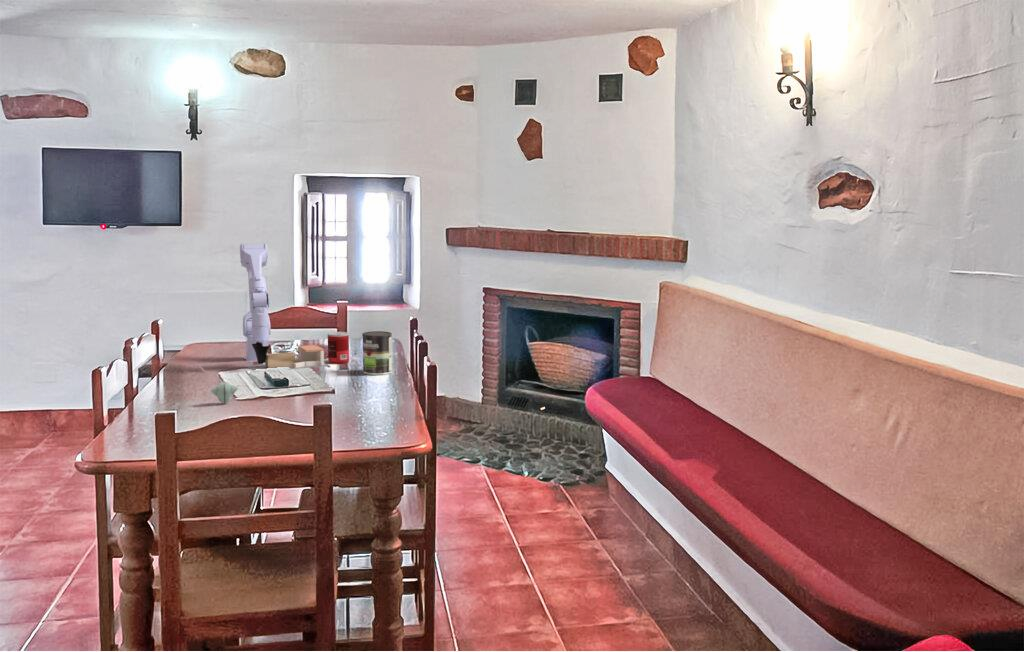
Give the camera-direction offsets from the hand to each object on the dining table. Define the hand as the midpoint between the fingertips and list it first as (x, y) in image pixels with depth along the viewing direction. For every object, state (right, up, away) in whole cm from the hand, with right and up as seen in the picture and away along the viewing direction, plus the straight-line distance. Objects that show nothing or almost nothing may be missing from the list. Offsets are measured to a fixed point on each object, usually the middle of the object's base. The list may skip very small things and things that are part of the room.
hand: (261, 363), depth 332 cm
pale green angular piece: (+3, -10, -52) cm, 53 cm away
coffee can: (+42, -3, -4) cm, 43 cm away
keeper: (+8, -2, +5) cm, 10 cm away
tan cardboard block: (+6, -1, +4) cm, 7 cm away
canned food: (+25, 0, +15) cm, 29 cm away
